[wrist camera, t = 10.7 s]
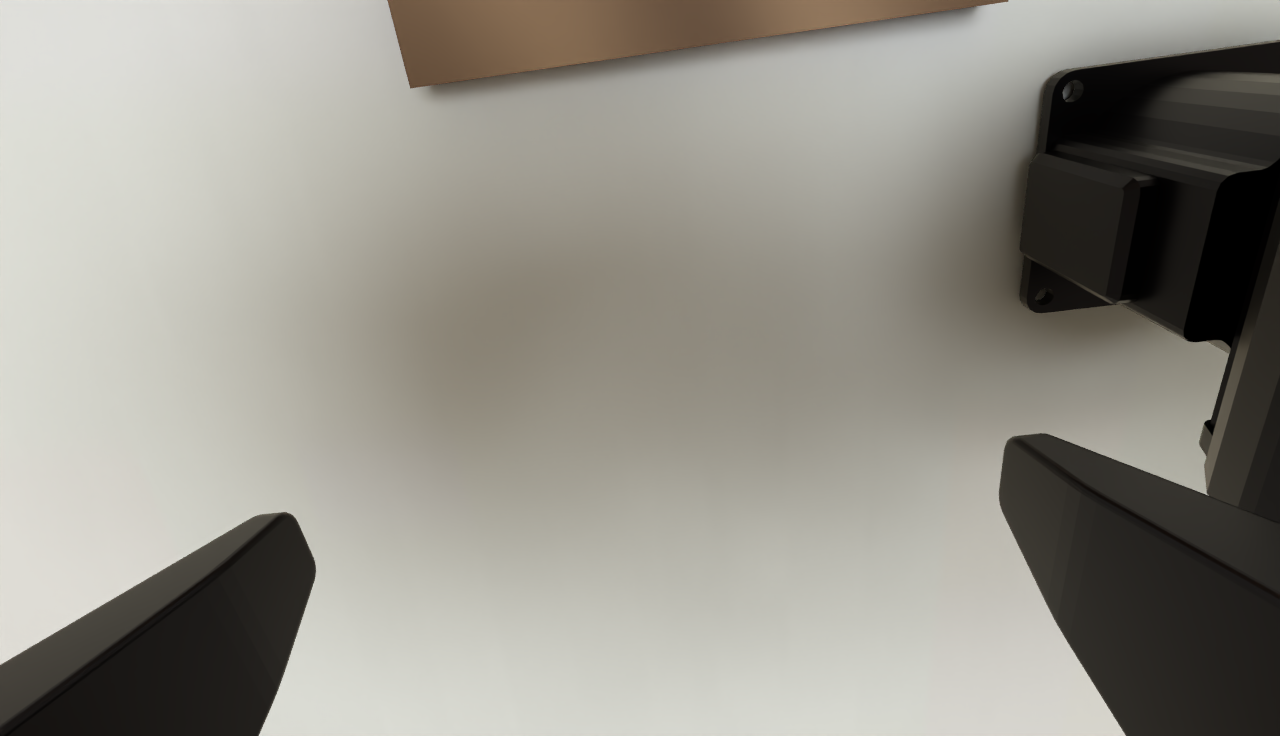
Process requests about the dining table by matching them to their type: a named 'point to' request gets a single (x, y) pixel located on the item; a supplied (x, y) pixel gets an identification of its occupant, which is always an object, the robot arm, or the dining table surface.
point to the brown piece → (605, 29)
